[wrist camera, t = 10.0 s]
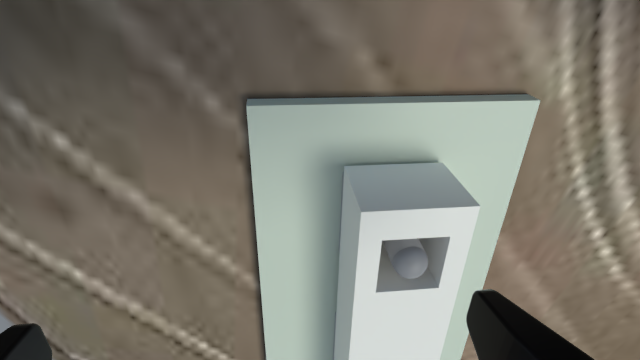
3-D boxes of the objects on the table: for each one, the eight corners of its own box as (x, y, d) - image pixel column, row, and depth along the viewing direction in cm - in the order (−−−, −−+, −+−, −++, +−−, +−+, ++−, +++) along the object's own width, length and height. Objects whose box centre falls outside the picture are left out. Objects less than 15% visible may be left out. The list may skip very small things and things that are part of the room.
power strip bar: (442, 162, 19) (480, 206, 16) (403, 364, 27) (422, 423, 24) (344, 166, 19) (361, 211, 15) (333, 371, 27) (342, 432, 23)
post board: (528, 94, 19) (618, 139, 14) (448, 368, 30) (484, 449, 25) (247, 99, 18) (238, 151, 13) (269, 386, 29) (269, 475, 24)
